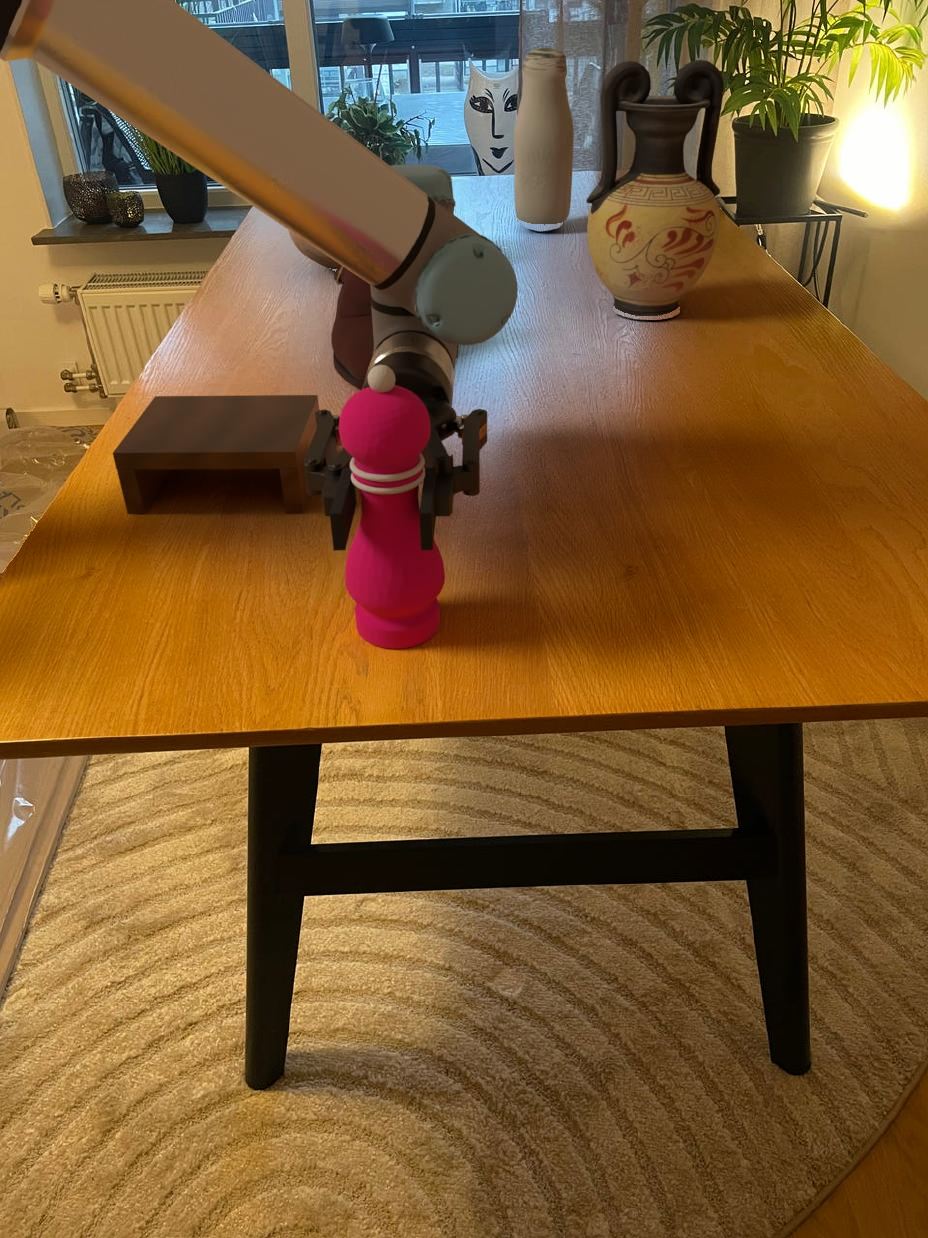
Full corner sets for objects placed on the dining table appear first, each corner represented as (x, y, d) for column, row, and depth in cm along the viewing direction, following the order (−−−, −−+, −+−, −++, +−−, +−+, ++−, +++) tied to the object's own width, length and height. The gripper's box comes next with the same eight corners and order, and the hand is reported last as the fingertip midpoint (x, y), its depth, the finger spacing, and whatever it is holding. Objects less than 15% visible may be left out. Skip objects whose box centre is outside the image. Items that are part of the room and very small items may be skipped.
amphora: (675, 288, 142) (699, 51, 125) (733, 322, 129) (770, 62, 111) (562, 300, 138) (572, 57, 121) (611, 337, 125) (629, 70, 107)
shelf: (127, 513, 88) (112, 452, 84) (167, 452, 98) (155, 395, 95) (303, 513, 87) (295, 451, 84) (323, 451, 98) (317, 394, 94)
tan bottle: (573, 224, 175) (580, 44, 159) (564, 238, 167) (572, 50, 151) (519, 222, 177) (521, 45, 161) (508, 236, 169) (509, 50, 153)
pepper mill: (353, 658, 69) (325, 391, 58) (347, 603, 75) (320, 350, 64) (453, 648, 70) (445, 382, 59) (439, 594, 76) (430, 342, 64)
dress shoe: (331, 401, 109) (320, 296, 102) (336, 322, 132) (328, 232, 125) (413, 397, 109) (408, 292, 103) (404, 319, 132) (399, 229, 125)
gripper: (515, 434, 83) (521, 581, 64) (305, 436, 83) (250, 581, 64) (516, 348, 79) (523, 478, 59) (295, 350, 79) (232, 479, 60)
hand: (381, 531), depth 62 cm, fingers closed on pepper mill, 5 cm apart
